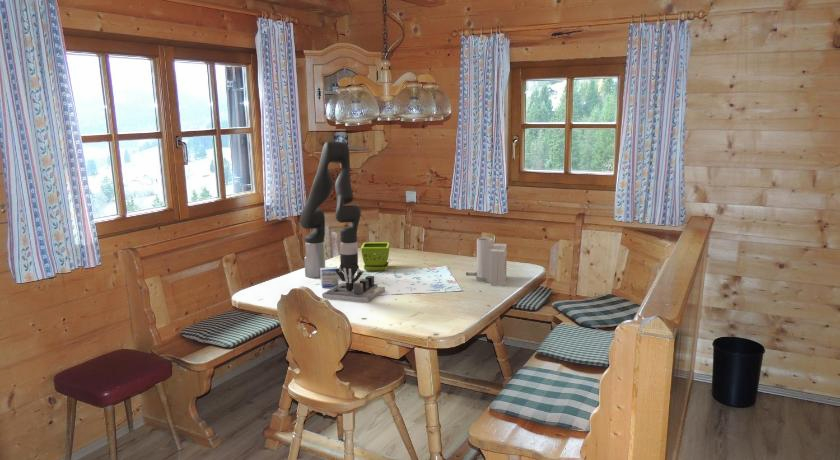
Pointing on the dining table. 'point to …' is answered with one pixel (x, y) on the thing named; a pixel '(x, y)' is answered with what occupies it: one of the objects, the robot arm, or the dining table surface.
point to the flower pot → (375, 255)
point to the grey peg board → (342, 294)
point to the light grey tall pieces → (490, 262)
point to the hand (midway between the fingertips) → (349, 290)
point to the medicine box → (329, 277)
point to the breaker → (358, 288)
